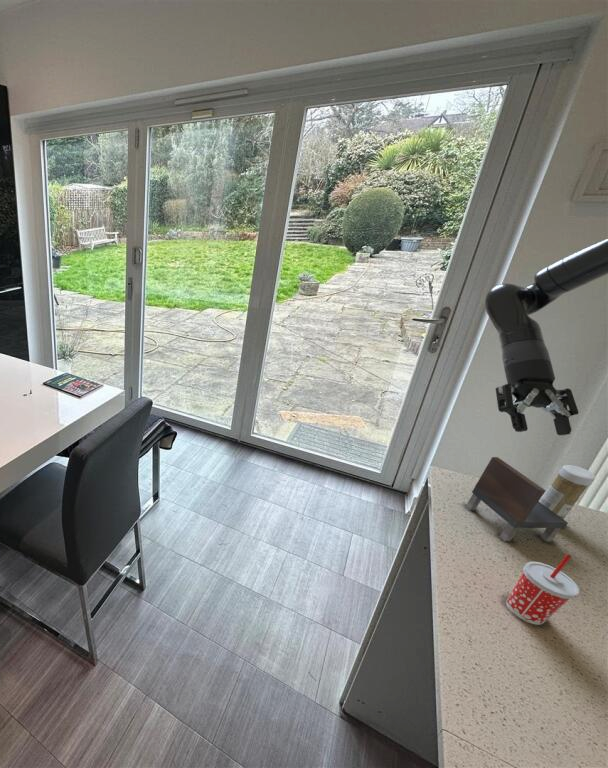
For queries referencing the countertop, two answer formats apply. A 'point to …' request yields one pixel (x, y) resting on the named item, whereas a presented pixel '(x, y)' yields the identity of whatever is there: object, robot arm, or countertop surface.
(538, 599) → the beverage cup
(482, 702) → the countertop surface
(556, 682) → the countertop surface
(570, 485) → the sprinkles bottle
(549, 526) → the chair
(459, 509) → the countertop surface
